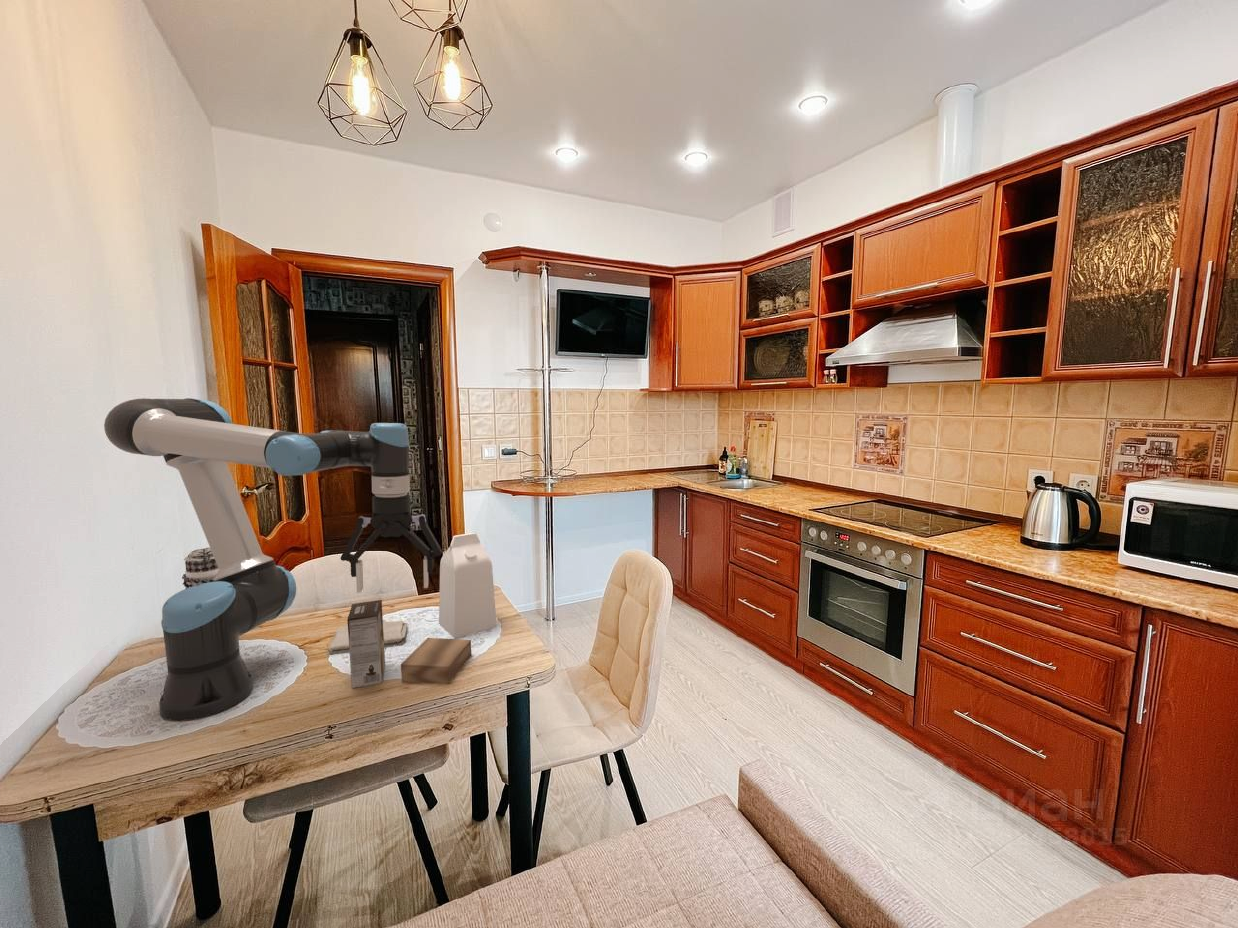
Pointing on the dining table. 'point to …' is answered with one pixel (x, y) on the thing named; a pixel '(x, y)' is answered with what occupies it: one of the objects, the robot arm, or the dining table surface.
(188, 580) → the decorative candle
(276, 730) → the dining table surface
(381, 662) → the coffee box
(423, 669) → the pedestal
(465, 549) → the milk
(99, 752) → the dining table surface
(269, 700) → the dining table surface
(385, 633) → the washcloth
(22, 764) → the dining table surface
